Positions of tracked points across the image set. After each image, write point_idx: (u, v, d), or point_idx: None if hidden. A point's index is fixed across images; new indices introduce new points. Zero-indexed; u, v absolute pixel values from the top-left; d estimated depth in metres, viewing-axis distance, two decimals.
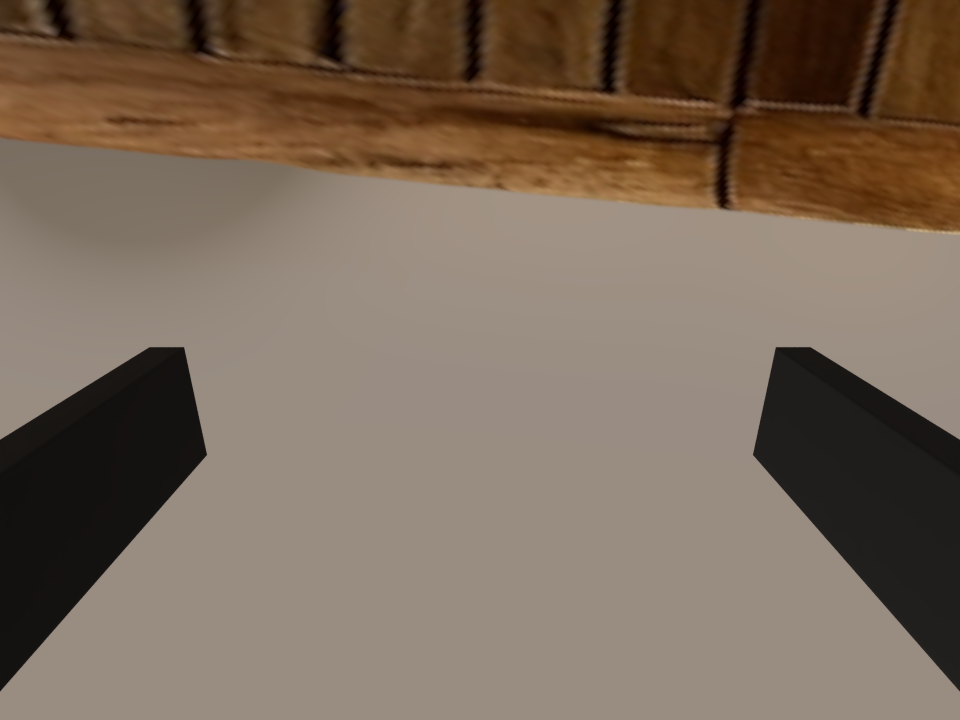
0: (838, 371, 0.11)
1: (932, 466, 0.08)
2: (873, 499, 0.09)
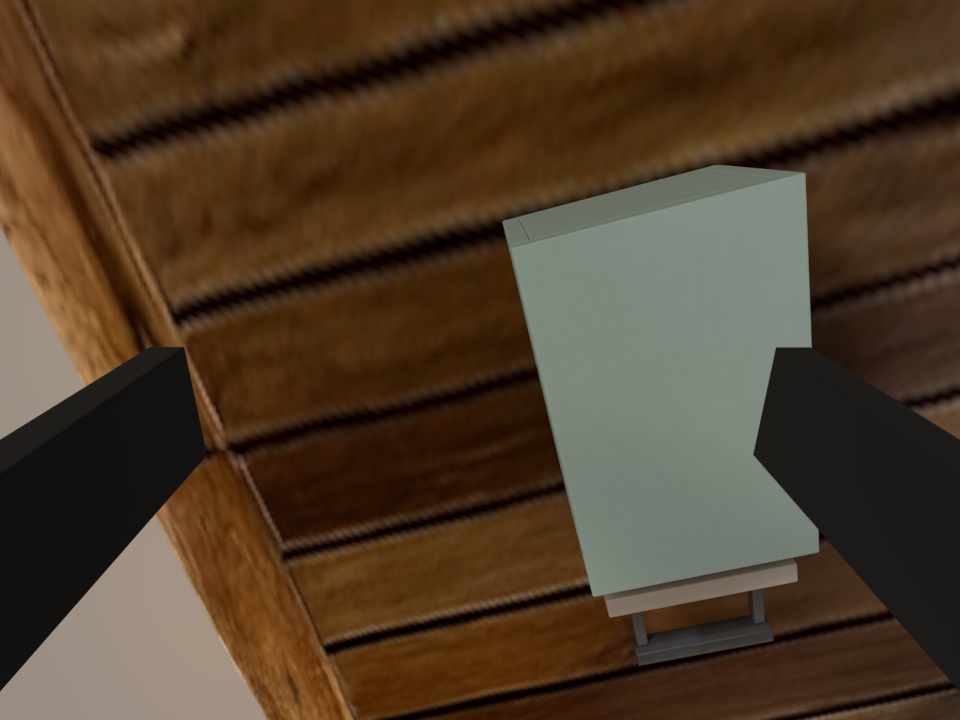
0: (838, 371, 0.11)
1: (932, 466, 0.08)
2: (873, 500, 0.09)
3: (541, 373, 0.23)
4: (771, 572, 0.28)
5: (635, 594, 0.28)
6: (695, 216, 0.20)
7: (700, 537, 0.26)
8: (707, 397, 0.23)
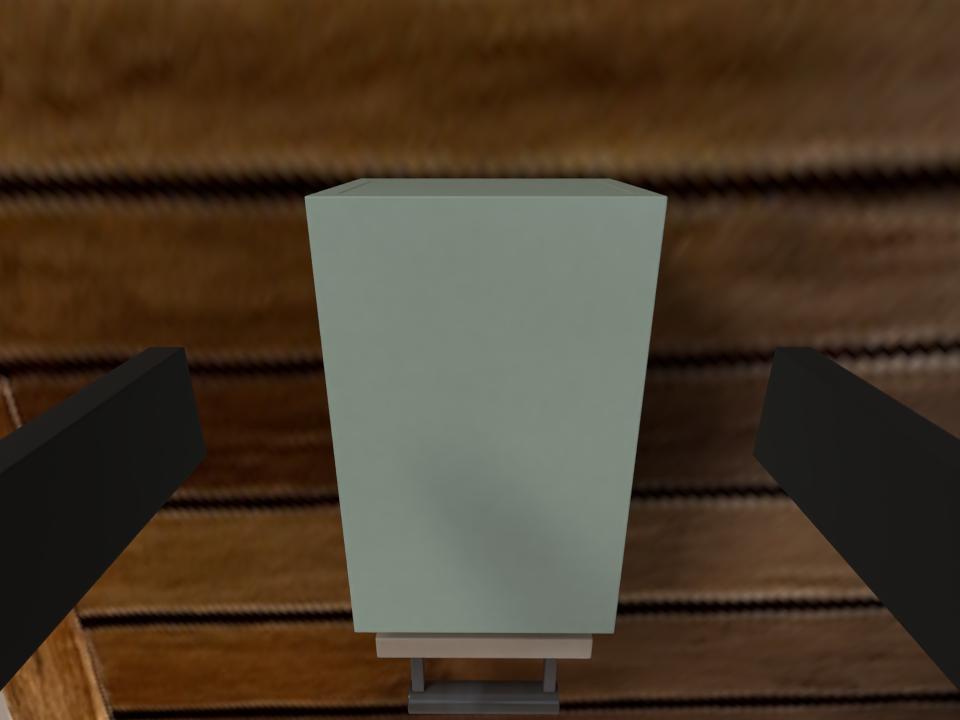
0: (838, 371, 0.11)
1: (932, 466, 0.08)
2: (872, 500, 0.09)
3: (324, 360, 0.19)
4: (563, 643, 0.25)
5: (409, 637, 0.25)
6: (533, 215, 0.17)
7: (486, 590, 0.22)
8: (516, 433, 0.19)
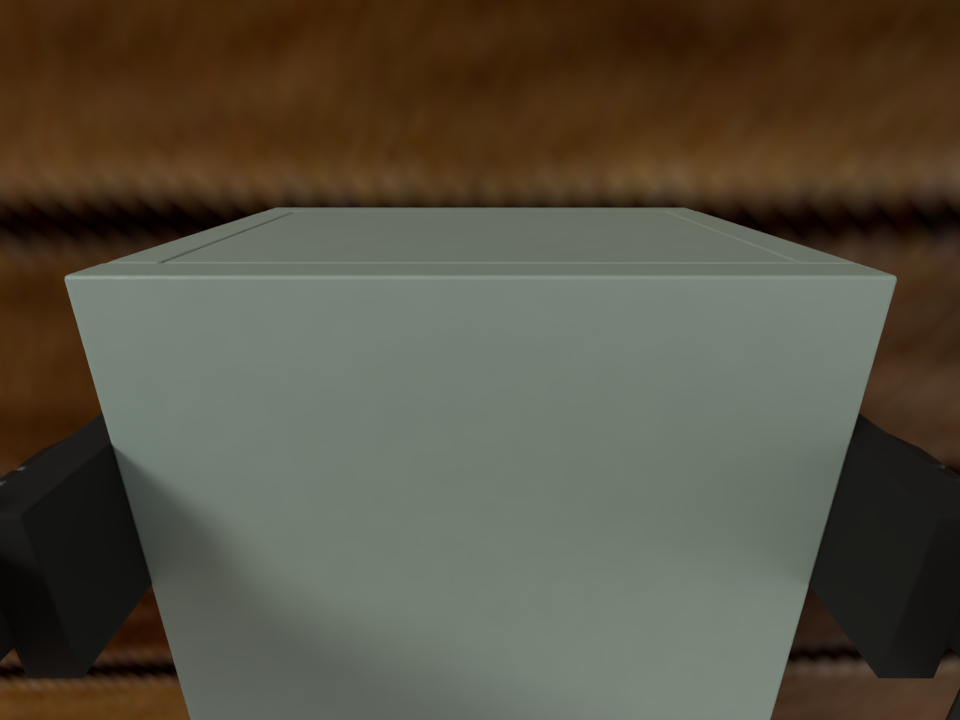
0: None
1: None
2: None
3: (155, 589, 0.09)
4: None
5: None
6: (587, 316, 0.07)
7: None
8: (539, 707, 0.10)
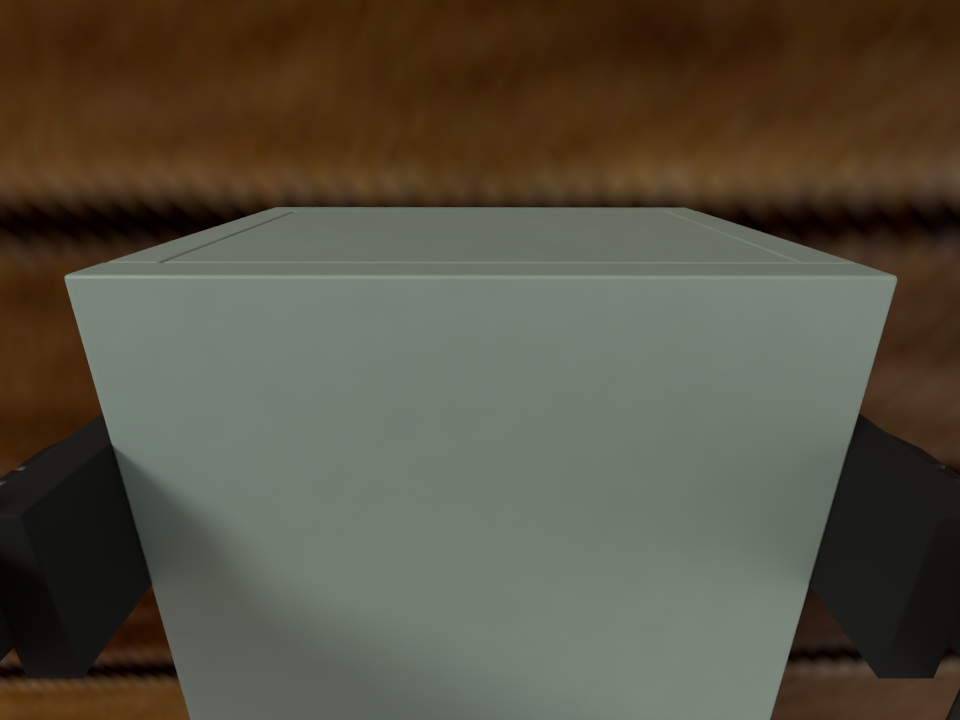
0: None
1: None
2: None
3: (155, 589, 0.09)
4: None
5: None
6: (587, 316, 0.07)
7: None
8: (540, 707, 0.10)
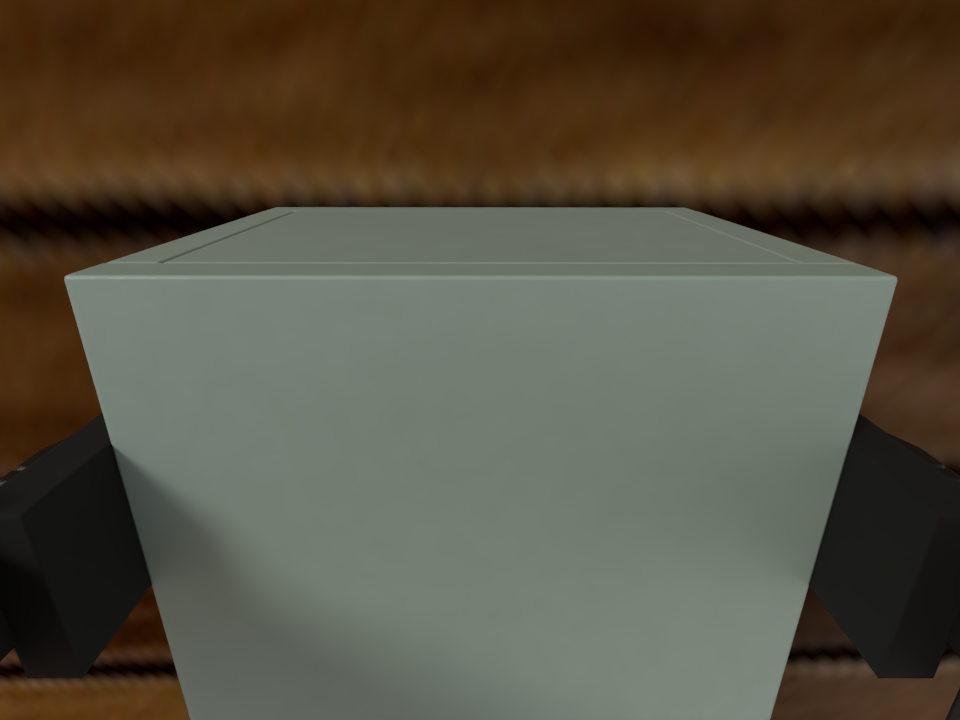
0: None
1: None
2: None
3: (155, 589, 0.09)
4: None
5: None
6: (587, 317, 0.07)
7: None
8: (540, 707, 0.10)
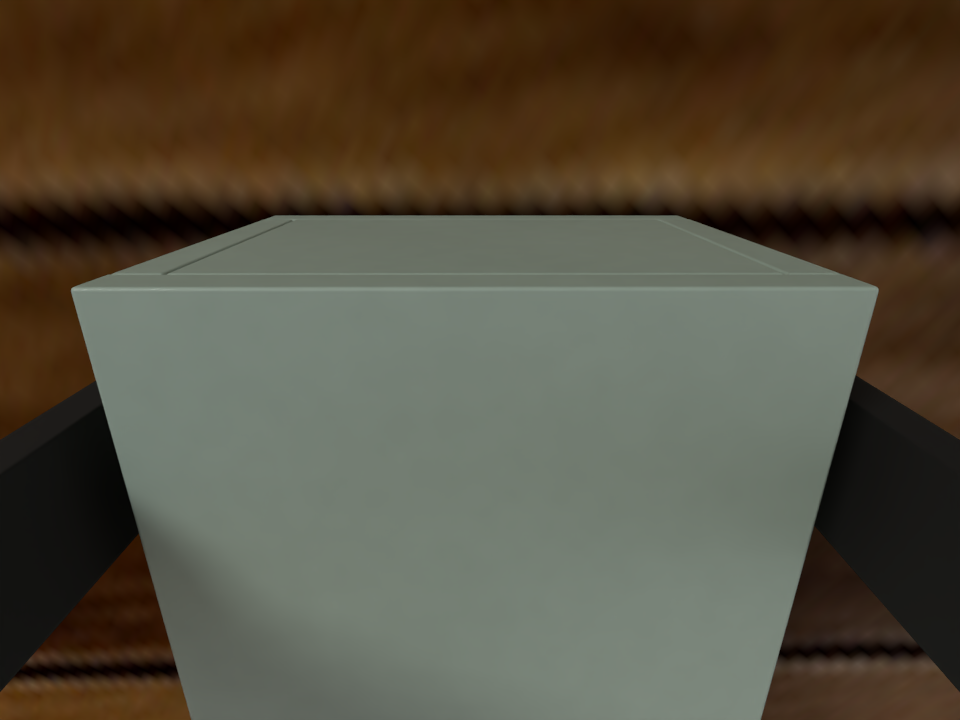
0: None
1: (931, 466, 0.08)
2: (872, 499, 0.09)
3: (158, 593, 0.09)
4: None
5: None
6: (580, 326, 0.08)
7: None
8: (535, 707, 0.10)
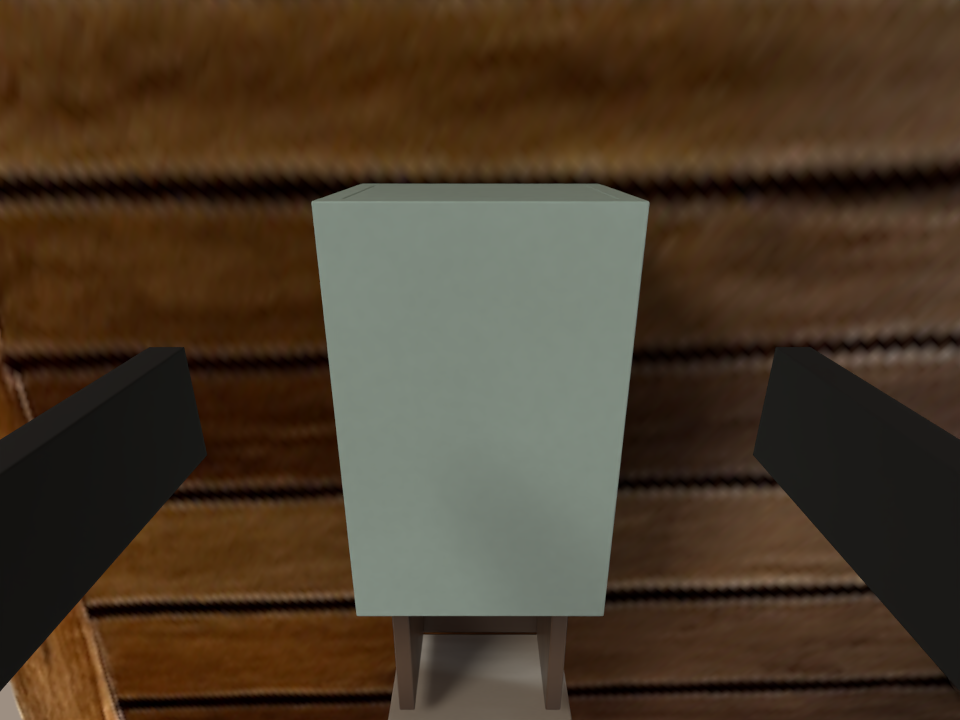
0: (838, 371, 0.11)
1: (932, 466, 0.08)
2: (873, 500, 0.09)
3: (329, 354, 0.20)
4: None
5: None
6: (524, 219, 0.18)
7: (481, 575, 0.23)
8: (509, 424, 0.21)
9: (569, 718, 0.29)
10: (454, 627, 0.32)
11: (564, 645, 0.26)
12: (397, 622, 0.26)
